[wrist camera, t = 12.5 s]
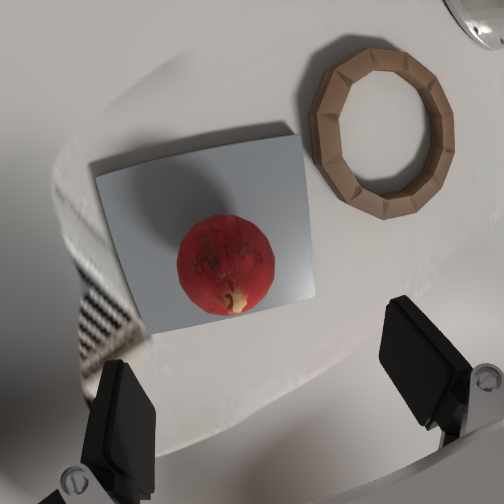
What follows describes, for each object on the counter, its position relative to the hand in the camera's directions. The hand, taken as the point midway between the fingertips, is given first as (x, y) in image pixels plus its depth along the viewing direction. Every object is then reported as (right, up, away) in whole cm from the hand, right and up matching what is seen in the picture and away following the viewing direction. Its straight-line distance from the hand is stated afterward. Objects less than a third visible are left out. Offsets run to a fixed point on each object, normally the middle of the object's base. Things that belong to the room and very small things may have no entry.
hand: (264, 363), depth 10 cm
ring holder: (+10, +13, +12) cm, 21 cm away
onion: (-3, +5, +12) cm, 13 cm away
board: (-3, +5, +12) cm, 14 cm away
